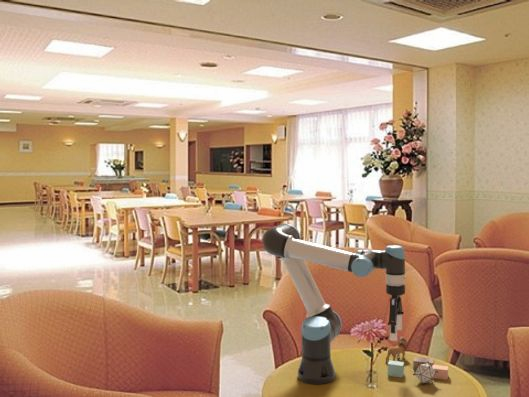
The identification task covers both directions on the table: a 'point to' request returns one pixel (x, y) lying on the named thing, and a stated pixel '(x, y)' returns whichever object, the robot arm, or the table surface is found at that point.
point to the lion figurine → (398, 349)
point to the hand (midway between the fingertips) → (396, 335)
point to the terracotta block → (441, 371)
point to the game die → (425, 373)
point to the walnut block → (422, 361)
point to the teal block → (395, 368)
